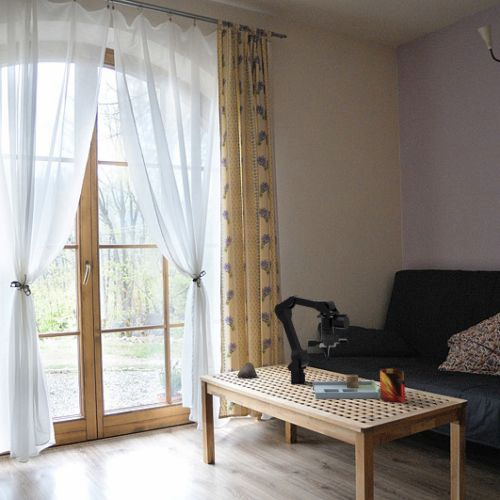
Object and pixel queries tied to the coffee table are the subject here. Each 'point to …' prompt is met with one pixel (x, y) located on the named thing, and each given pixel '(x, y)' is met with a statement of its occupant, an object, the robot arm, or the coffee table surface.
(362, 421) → the coffee table surface
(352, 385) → the block
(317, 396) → the trap box
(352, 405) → the coffee table surface
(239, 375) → the stone
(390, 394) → the mug
